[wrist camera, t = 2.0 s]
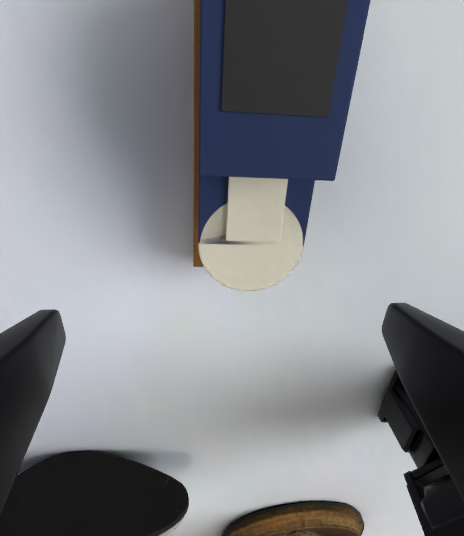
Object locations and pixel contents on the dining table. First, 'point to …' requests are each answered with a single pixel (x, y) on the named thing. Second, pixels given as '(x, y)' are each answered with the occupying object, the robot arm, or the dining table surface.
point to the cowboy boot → (93, 498)
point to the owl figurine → (301, 521)
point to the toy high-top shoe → (266, 127)
